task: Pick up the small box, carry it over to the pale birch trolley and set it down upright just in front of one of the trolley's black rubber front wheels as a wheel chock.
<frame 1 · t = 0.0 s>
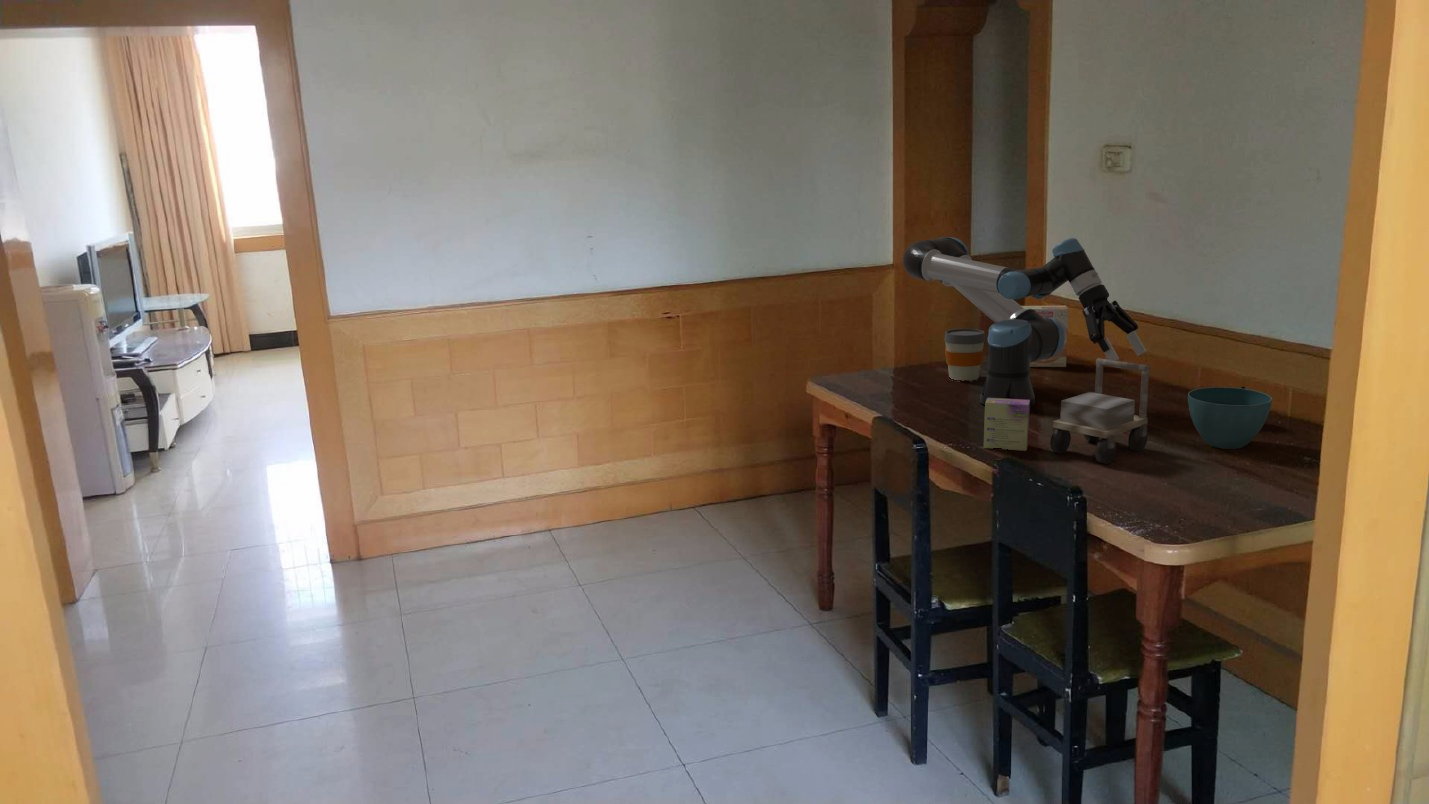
hand: (1128, 357, 285), 15 cm above the table, tool tilted 35°, fingers open, 13 cm apart
box: (1005, 447, 261), on the table
reusable coffee cup: (963, 379, 335), on the table
teal bowl: (1225, 445, 256), on the table
ornament: (1239, 425, 273), on the table
coffeecake box: (1041, 365, 350), on the table
trolley: (1098, 451, 254), on the table
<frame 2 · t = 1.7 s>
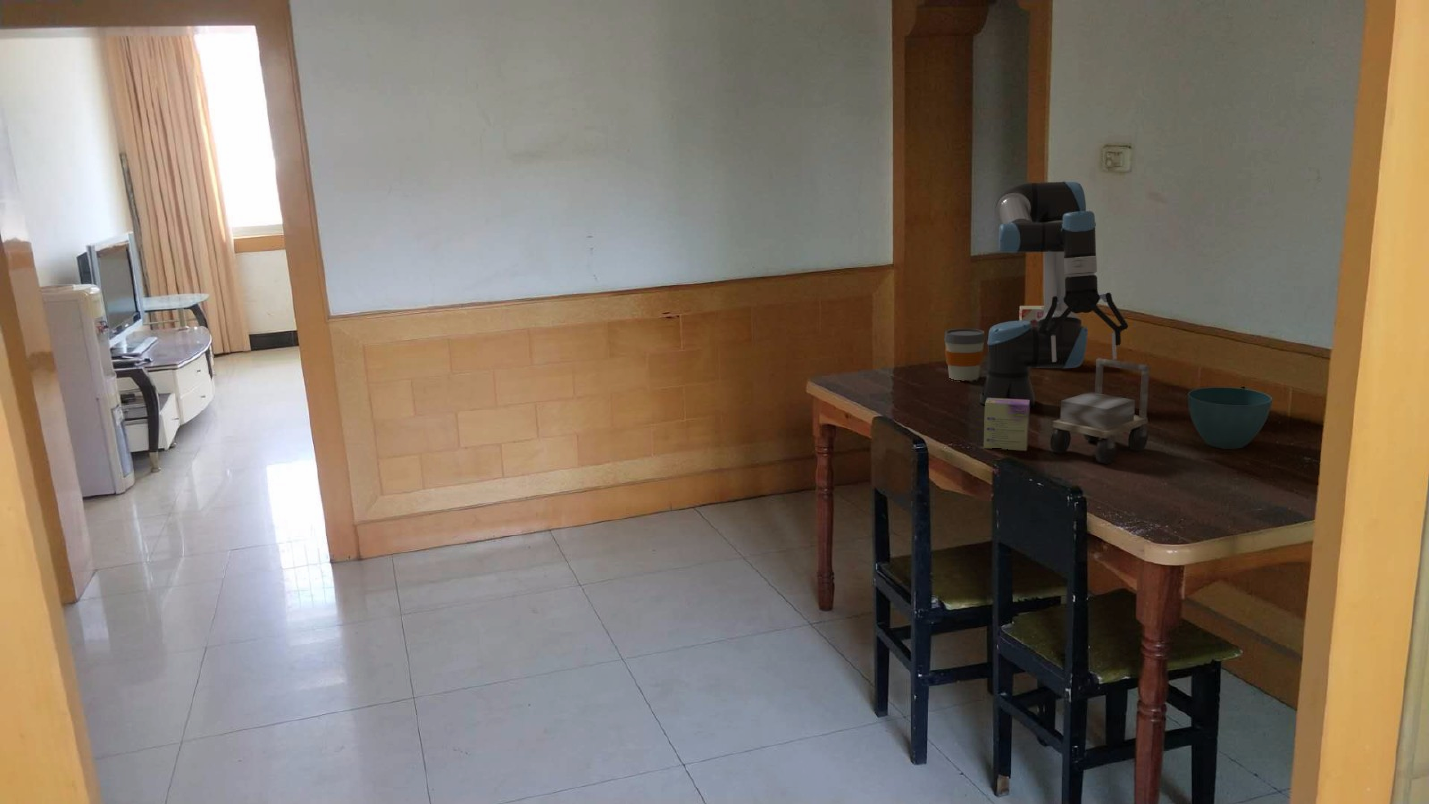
hand: (1084, 361, 261), 20 cm above the table, tool pointing down, fingers open, 13 cm apart
nothing on the table moved.
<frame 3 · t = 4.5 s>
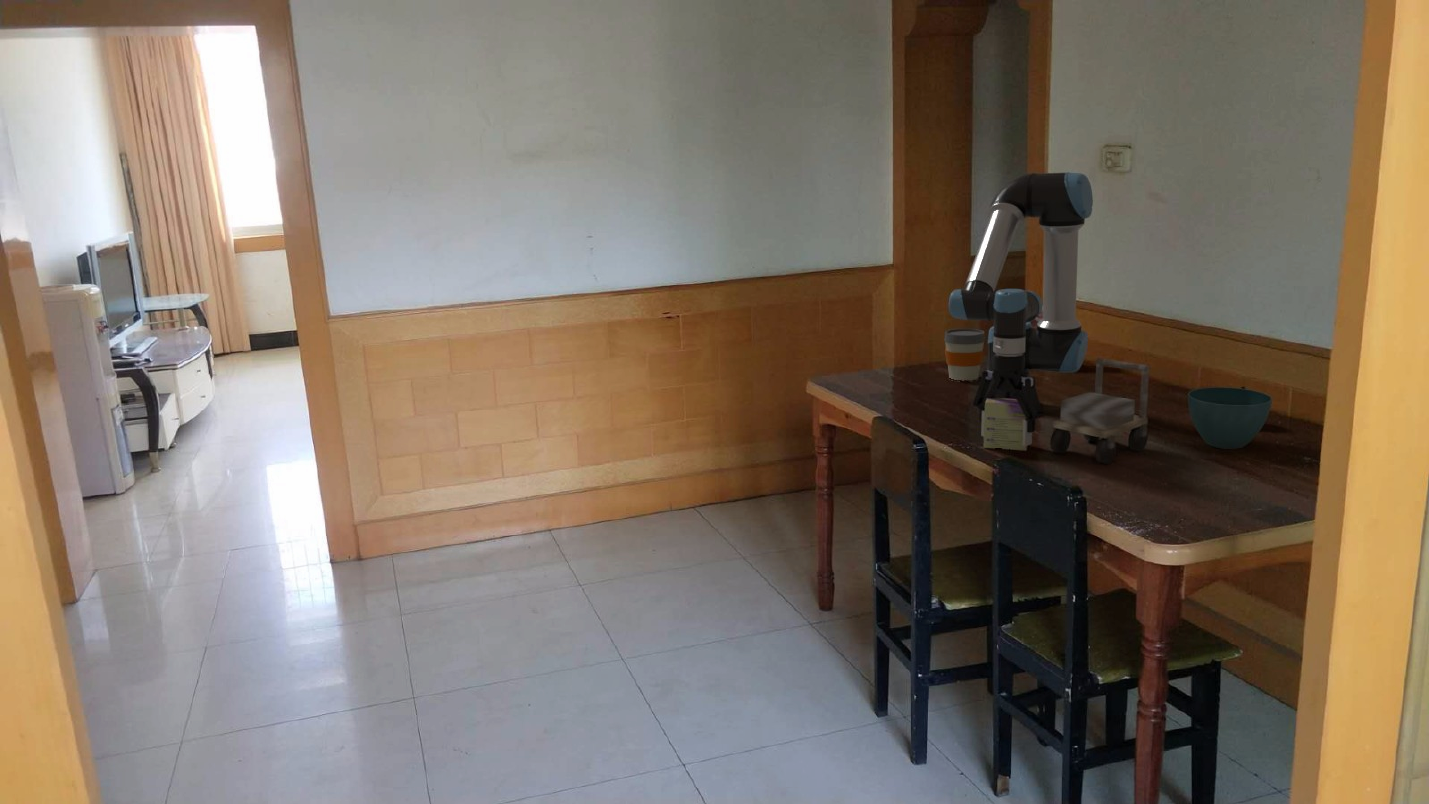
hand: (1006, 439, 261), 2 cm above the table, tool pointing down, fingers closed on box, 11 cm apart
box: (1005, 447, 261), on the table, touching gripper
everything else where it was.
when the fingers open (3 cm above the table, at t = 11.2 s): box drops 1 cm, on the table.
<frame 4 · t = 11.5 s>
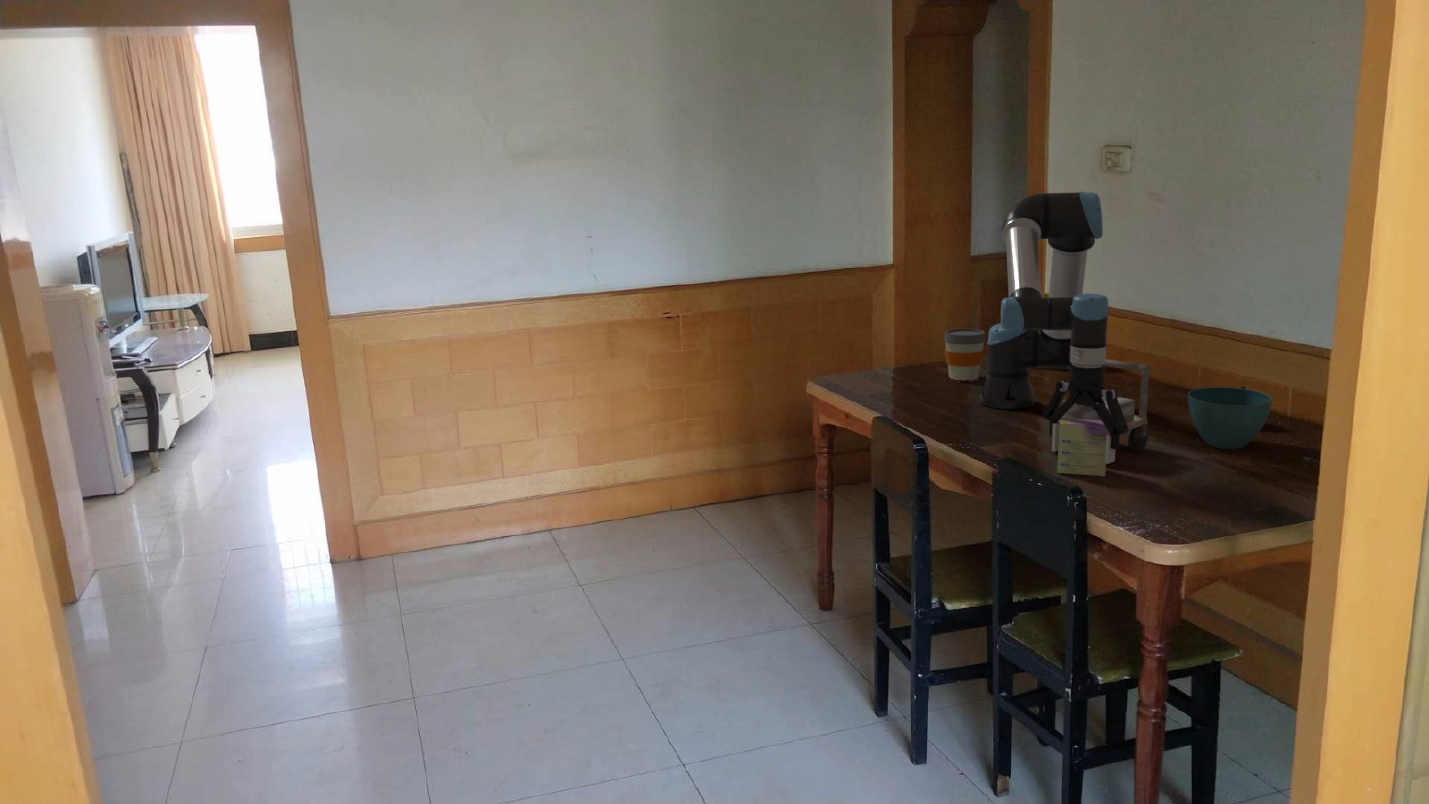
hand: (1082, 456, 239), 4 cm above the table, tool pointing down, fingers open, 13 cm apart
box: (1081, 472, 240), on the table
everything else where it was.
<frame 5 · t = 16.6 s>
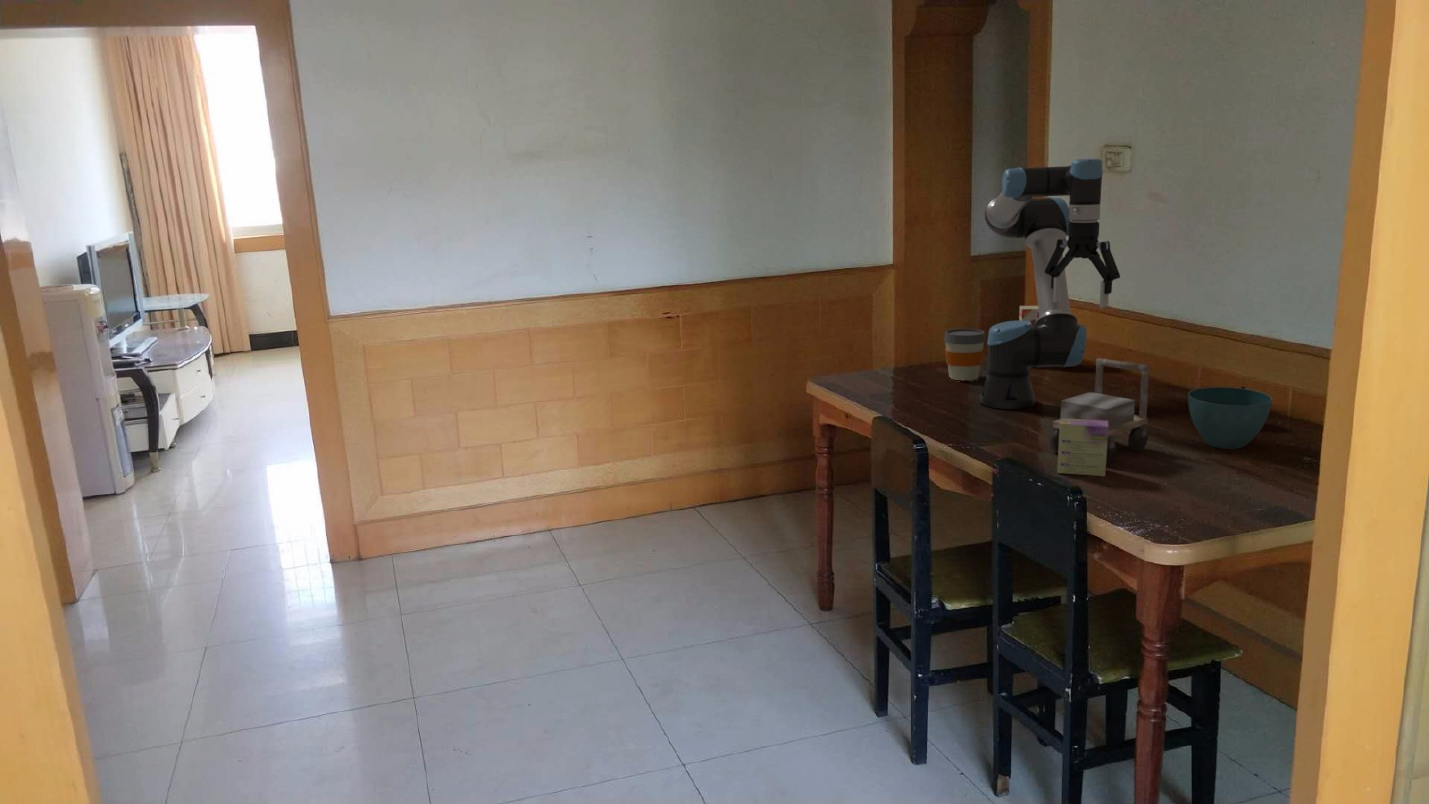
hand: (1079, 304, 273), 32 cm above the table, tool pointing down, fingers open, 13 cm apart
nothing on the table moved.
at the end: box inside the target area on the table beside the trolley (1.3 cm from its centre), on the table; box tilted 0°; the gripper is holding nothing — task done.
